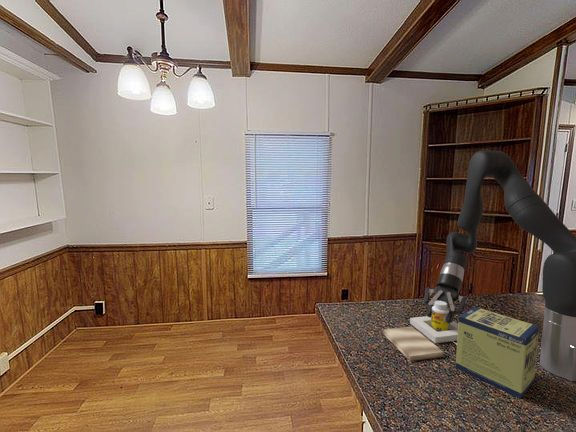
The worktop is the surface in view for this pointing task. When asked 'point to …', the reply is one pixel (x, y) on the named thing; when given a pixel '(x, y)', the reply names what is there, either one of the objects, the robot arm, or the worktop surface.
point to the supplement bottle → (440, 316)
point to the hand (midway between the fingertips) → (438, 319)
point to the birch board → (412, 343)
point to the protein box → (497, 350)
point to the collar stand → (432, 334)
